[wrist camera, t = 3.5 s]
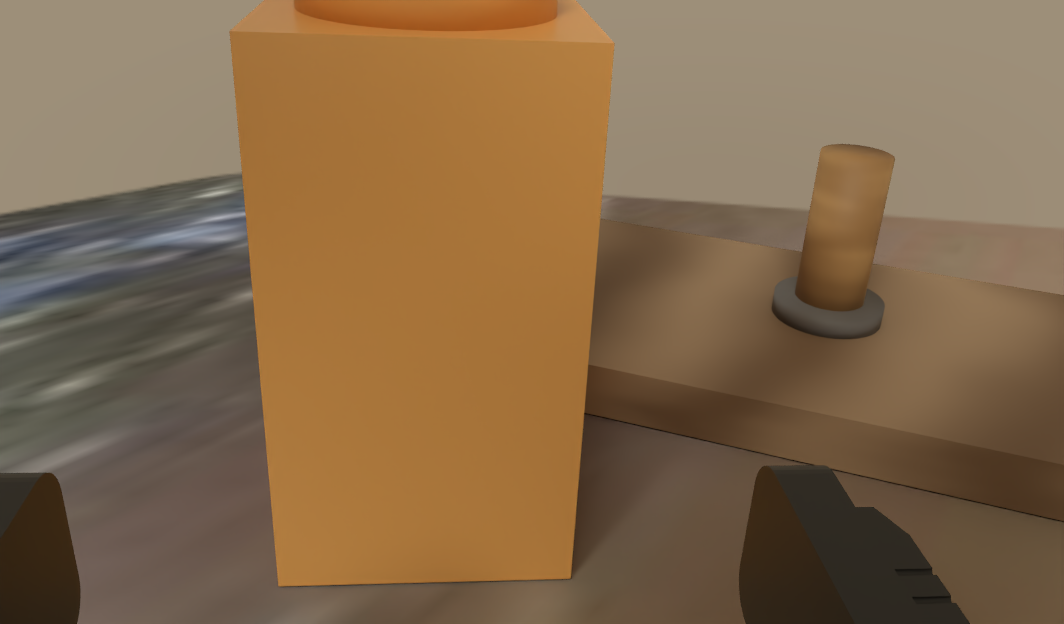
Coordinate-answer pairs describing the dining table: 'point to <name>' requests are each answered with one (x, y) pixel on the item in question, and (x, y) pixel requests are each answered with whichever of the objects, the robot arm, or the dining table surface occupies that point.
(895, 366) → the board
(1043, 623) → the dining table surface
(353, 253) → the orange toy brick
